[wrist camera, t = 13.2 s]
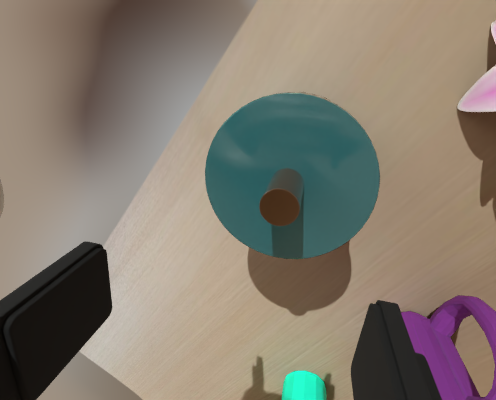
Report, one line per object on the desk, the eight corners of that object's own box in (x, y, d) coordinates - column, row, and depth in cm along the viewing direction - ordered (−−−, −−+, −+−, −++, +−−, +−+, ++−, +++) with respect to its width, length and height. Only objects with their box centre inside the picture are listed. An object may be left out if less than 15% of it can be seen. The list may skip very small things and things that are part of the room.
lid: (182, 189, 25) (148, 217, 20) (272, 52, 20) (255, 44, 15) (301, 277, 26) (296, 326, 21) (417, 167, 21) (448, 195, 16)
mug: (352, 345, 40) (367, 485, 26) (425, 254, 33) (496, 377, 20) (418, 378, 39) (469, 538, 26) (506, 292, 33) (636, 445, 19)
